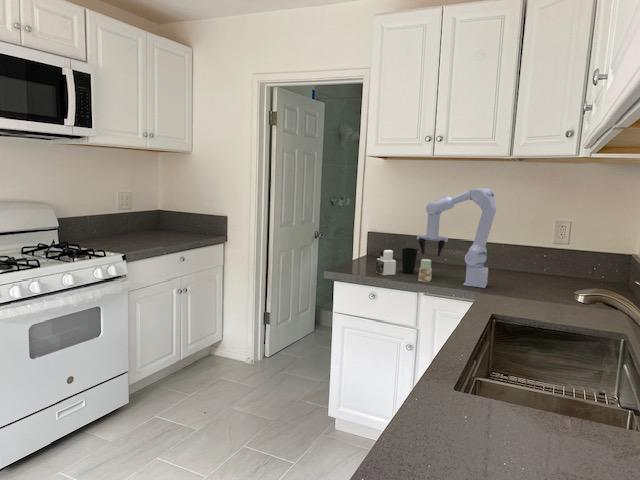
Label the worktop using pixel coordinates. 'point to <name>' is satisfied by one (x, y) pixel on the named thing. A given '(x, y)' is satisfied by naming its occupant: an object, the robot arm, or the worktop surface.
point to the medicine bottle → (386, 263)
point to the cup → (408, 260)
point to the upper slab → (425, 272)
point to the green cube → (425, 264)
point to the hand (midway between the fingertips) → (430, 254)
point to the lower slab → (425, 278)
